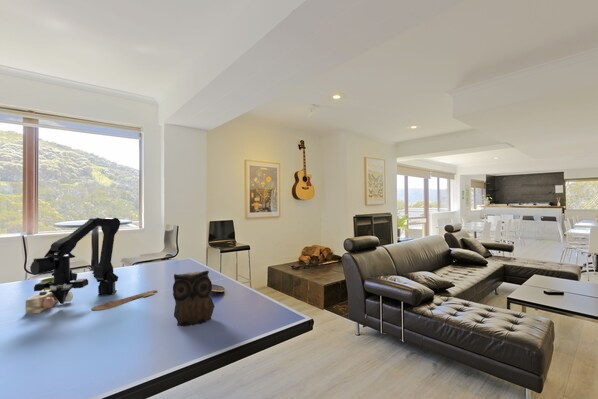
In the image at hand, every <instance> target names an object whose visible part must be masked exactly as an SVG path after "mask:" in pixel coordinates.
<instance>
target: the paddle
mask: <svg viewBox="0 0 598 399" xmlns="http://www.w3.org/2000/svg"><path fill="white" fill-rule="evenodd" d="M156 293H158V290H157V289H155V290H148V291H146V292H142V293H139V294H134V295H131V296H127V297H125V298H124V297H123V298H120V299H115V300H112V301H108V302H104V303H101V304H98V305H96V306H93V307H92V308H91V311H92V312H97V311H98V312H99V311H103V310H109V309H111V308H116V307H118V306H122V305H124V304H127V303H129V302H132V301H134V300H135V301H136V300H137V299H141V298H144V299H145V298H149V297H152V296H154V295H156Z"/></svg>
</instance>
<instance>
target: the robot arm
mask: <svg viewBox="0 0 598 399" xmlns="http://www.w3.org/2000/svg"><path fill="white" fill-rule="evenodd" d="M120 226H121V220H120V219H119V218H117V217H105V218H99V217H90V218H88V220H87V221H86V222H84V223H83V224H82V225H80V227H78V228H77V229H75V230H74V231H73V232H71V233H70V234H69V235H67V236H65V237H63V238H62V237H61V238H60V239H58V240H56V241H54V242H52V244H51V245H50V248H49V250H48V251H47V252H46V253H45V255H44V256H43V257H36V258H33V261H32V263H31V265H30V268H29V270H30V273H31V275H34V276H36V275H40V274H46V273H51V272H52V273H51V277H52V276H53V277H54V282H51V281H44V282H40V281H39V282H38V283H36V284H35V285H34V286H33V292H43V291H44V290H43V289H44V288H50V291H49V292H52V293H53V294H54V296H55V297H56V298H57V300H58V301H59V302H58V303H59V304H60V305H64V304H65V303H66V302H65V299H66V297H67V294H68V292H71V290H72V289H83V288H84V287H86V286H88V285H89V279H87V278H78V273H76V272H73V270H72V269H71V260H70V259H72V258H76V255H74V254H73V253H72V251H73V250H74V249H75V248H76V246H77V244H78V243H79V242H80V240H82V239H83V238H85V236H87V235H89V233H91V232H92V231H94V229H96V228H97V227H100V228H101V231H102V234H103V235H102V242H101V243H102V244H101V249H100V256H99V262H98V263H97V265H94V266H93V271H92V274H93V278H94V279H95V280H96V282H97V283H98V284H99V285H98V287H97V289H98V290H97V293H98V294H97V296H109V295H113V294H114V293H116V292H117V289H116V283H117V281H118V280H119V276H118V275H117V274H115V273H114V267H113V264H112V257H113V251H114V250H113V249H114V243H115V236H116V234H117V233H118V231H119V229H120Z"/></svg>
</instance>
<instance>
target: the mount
mask: <svg viewBox="0 0 598 399" xmlns="http://www.w3.org/2000/svg"><path fill="white" fill-rule="evenodd" d="M49 291H50V290H45V291H44V290H42V291H39V293H37V294H35V295H32V296H31V297H29V298H26V299H25V314H26V315H27V314H29V315H30V314H40V313H41V312H43V311H45V310H47V309H48V308H42V301H43V299H44V298H50V297H52V296H53V295H54V294H53V293H52V292H49ZM57 303H60V302H59V301H58V300H54V305H55V304H57Z"/></svg>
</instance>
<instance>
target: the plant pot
mask: <svg viewBox="0 0 598 399" xmlns="http://www.w3.org/2000/svg"><path fill="white" fill-rule="evenodd" d="M44 281H51V282H54V276H53V277H52V276H51V277H47V278H44V279H41V280H40V281H39V283H40V282H44ZM45 290H50V288H44V289H43V290H42V291H45Z"/></svg>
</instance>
